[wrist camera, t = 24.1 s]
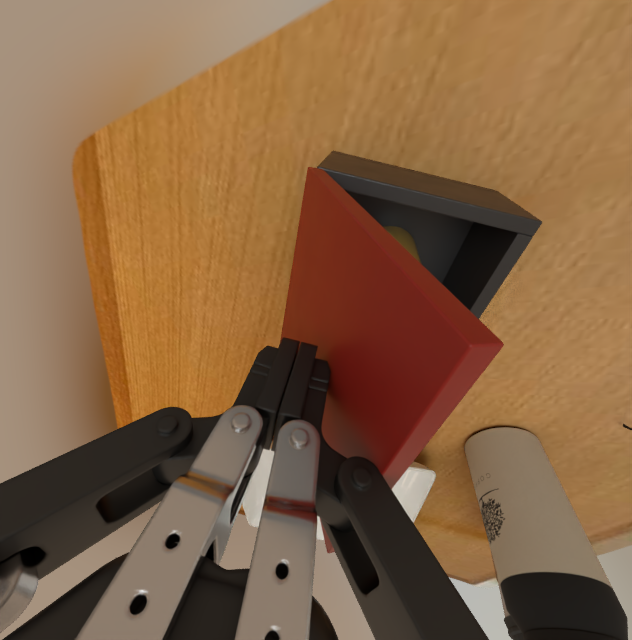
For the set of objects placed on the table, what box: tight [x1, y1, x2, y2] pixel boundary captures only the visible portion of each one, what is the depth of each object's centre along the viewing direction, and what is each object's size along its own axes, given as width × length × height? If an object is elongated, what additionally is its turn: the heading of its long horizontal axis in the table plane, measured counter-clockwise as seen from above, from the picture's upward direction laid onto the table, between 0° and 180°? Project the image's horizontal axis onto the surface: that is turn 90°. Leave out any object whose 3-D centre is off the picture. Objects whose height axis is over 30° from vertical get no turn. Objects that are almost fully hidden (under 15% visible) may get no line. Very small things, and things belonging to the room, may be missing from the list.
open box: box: [317, 151, 542, 319], centre depth 21 cm, size 12×12×7 cm
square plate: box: [242, 441, 436, 540], centre depth 46 cm, size 27×27×4 cm
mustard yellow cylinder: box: [383, 226, 421, 263], centre depth 21 cm, size 4×4×5 cm
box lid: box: [280, 167, 504, 553], centre depth 13 cm, size 13×12×1 cm
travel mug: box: [464, 427, 628, 640], centre depth 28 cm, size 8×8×18 cm
